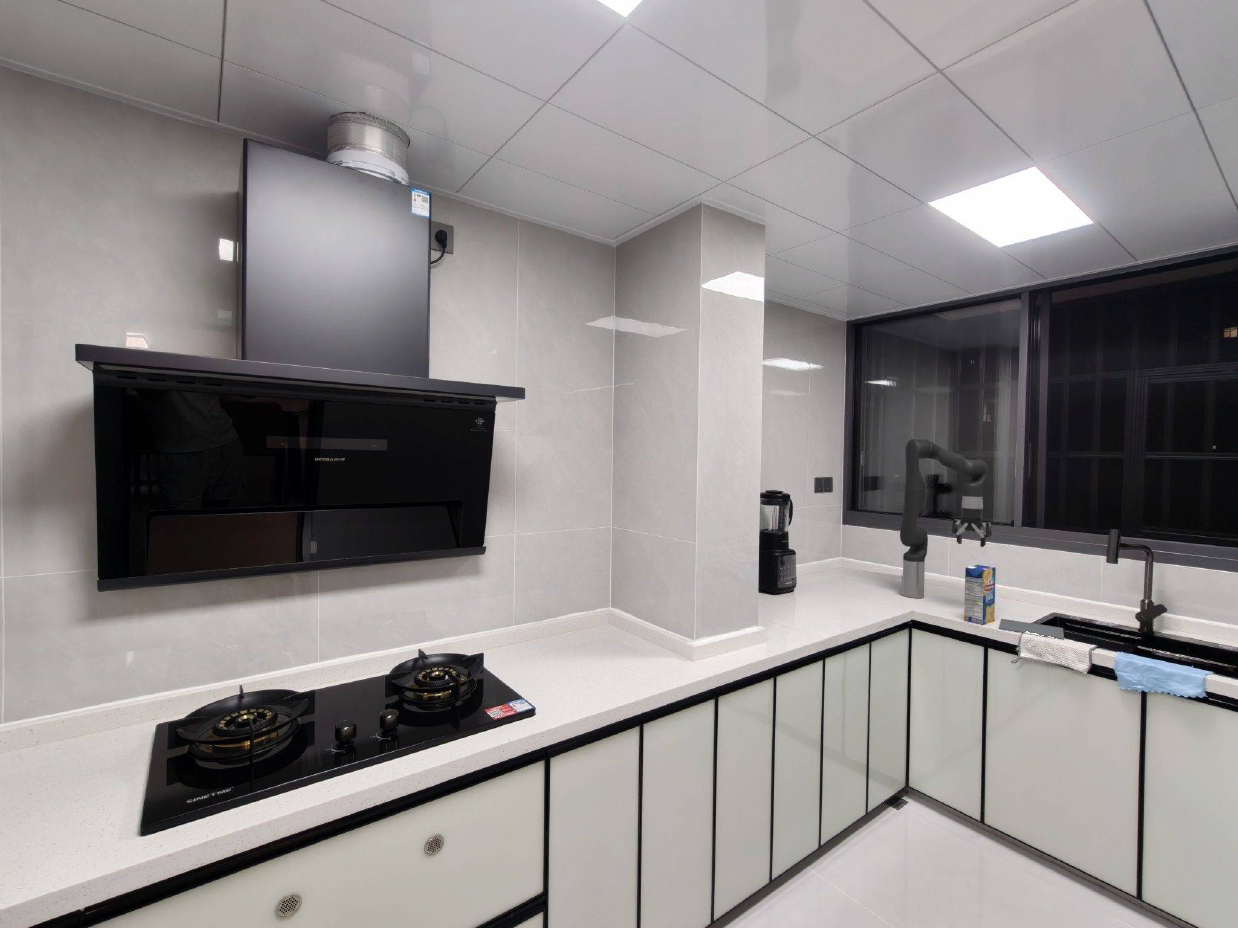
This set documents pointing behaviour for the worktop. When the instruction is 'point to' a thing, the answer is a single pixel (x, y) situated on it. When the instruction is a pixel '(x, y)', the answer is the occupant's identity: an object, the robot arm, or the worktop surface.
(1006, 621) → the mat
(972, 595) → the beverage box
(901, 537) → the robot arm
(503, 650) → the worktop surface
